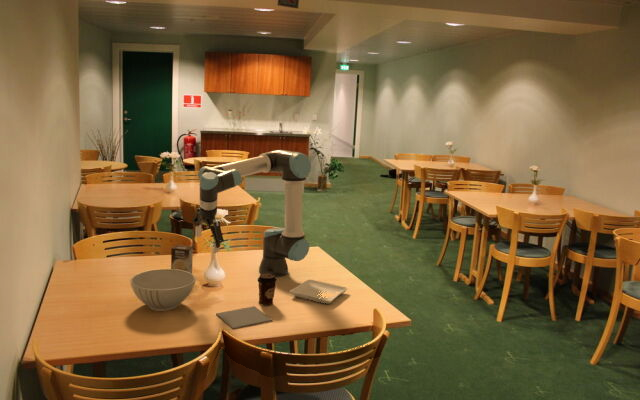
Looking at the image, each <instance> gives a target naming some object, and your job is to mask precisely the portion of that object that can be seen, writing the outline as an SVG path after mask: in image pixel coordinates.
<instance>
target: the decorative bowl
mask: <svg viewBox="0 0 640 400" xmlns="http://www.w3.org/2000/svg"><path fill="white" fill-rule="evenodd" d="M196 281H197V278H196V276H195V275H194V274H193V273H192V274H191V273H189V272H186V271H183V270H177V269H171V268H157V269H149V270H145V271H142V272H139V273H136V274H135V275H133V276H132V277H130V280H129V282H130V286H131V289H132V291H133V293H134V295H135V296H136V297H137V299H138V300H139V301H140V302H142V304H145V305H146V306H148V308H149V309H150V310H152V311H156V312H168V311H171V310H174V309H176V308H178V306H179V304H182V302H184V301H185V300H186V299H188V297H189V296H190V295H191V292H192V291H193V289H194V287H195V284H196Z"/></svg>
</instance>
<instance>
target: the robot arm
mask: <svg viewBox="0 0 640 400" xmlns="http://www.w3.org/2000/svg"><path fill="white" fill-rule="evenodd" d="M311 169H312V162H311V160H310V158H309V156H308V155H306V153H302V152H299V151H295V150H294V151H293V150H286V149H277V150H271V151H267V152H263V153H260V154H259V155H258V156H255V157H251V158H247V159H243V160H238V161H233V162H229V163H225V164H221V165H216V166H206V165H205V166H202V167H201V168H200V169H199V170H198V174H197V176H198V180H199V207H198V208H196V210H195V211H196V212H195V214H194V216H193V217H192V219H191V222H192V223H193V224H194V226H195V227H194V229H195V230H194V231H195V236H194V237H195V238H196V239H197V238H200V237H202V228H203V227H202V223H204V224H205V225H207V227H208V229H209V230H210V232H211V235H212V236H213V239H214V240H213V251H212V252H213V254H217V253H219V252H220V247H221V244H222V243H223V242H224V241H225V240H224V235H223V232H222V228H221V223H220V220H216V216H217V214H218V195H219V194H220V193H223V192H225V191H227V190H230V189H232V188H235V187H237V186H239V185H241V183H242V182H243V181H242V180H243V179H242V177H243V178H244V177H247V176H250V175H254V174H258V173H264V174H267V173H277V174H281V180H282V181H283V182H284V228H283V227H281V228H280V227H275V228H268V229H265V230H264V231H263V237H262V238H263V242H262V243H263V246H262V258H261V261H260V265H259V267H258V272H259V274H260V275H261V274H264V273H270V274H274V275H275V277H283V276H286V275H288V274H289V267H288V263H287V260H290V261H293V262H300V261H302V260H304V259H305V258H306V257H307V256H308V253H309V251H310V243H309V241H308V240H307V239H306V235H305V234H306V233H305V232H304V231H303V191H304V190H303V184H304V183H305V181H306V180H307V177H308V176H309V175H310V173H311V171H312V170H311ZM286 259H287V260H286Z"/></svg>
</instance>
